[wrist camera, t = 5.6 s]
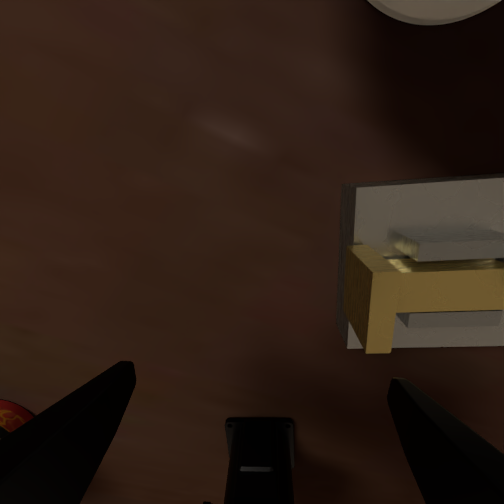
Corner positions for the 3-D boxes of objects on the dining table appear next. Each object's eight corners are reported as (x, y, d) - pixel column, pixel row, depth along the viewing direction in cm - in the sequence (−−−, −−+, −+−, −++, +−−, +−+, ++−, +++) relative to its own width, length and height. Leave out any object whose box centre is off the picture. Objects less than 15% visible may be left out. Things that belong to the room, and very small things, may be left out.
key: (472, 306, 16) (537, 350, 12) (343, 310, 16) (365, 353, 13) (488, 238, 14) (567, 264, 11) (346, 245, 15) (373, 272, 11)
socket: (550, 317, 19) (637, 364, 15) (336, 323, 20) (355, 368, 16) (603, 166, 16) (740, 165, 11) (341, 184, 17) (368, 190, 12)
